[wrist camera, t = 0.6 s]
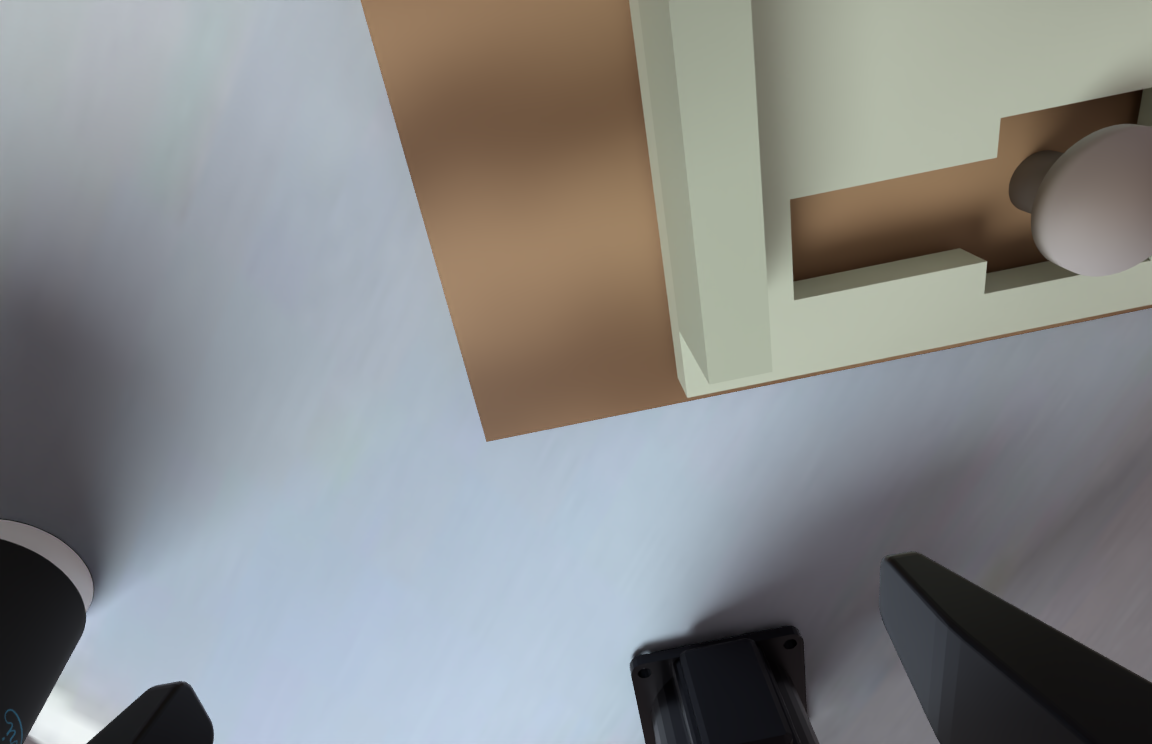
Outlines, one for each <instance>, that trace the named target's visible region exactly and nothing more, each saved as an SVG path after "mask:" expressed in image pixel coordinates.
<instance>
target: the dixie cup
mask: <svg viewBox="0 0 1152 744" xmlns="http://www.w3.org/2000/svg"><path fill="white" fill-rule="evenodd" d="M93 590H94V589H93V582H92V578H91V575H90V572H89V570H88V568H87V567H86V565H85V564H84V562H83V561H82V559H81V558H80V557H79V556H78V555H77V554H76V553H75V552H74V551H73V550H72V549H71V548H70V547H69V546H67V545H66V544H65V543H63V542H62V541H61V540H59V539H57V538H56V537H54V536H52V535H51V534H49V533H47V532H45V531H42V530H40V529H38V528H35V527H33V526H29V525H26V524H23V523H19V522H14V521H9V520H0V744H23V743H24V741H25V739H26V737H27V735H28V734H29V732H30V730H31V728H32V726H33V724H34V723H35V721H36V719H37V717H38V715H39V713H40V711H41V710H42V708H43V706H44V704H45V702H46V700H47V699H48V697H49V695H50V693H51V691H52V689H53V687H54V686H55V684H56V682H57V680H58V678H59V676H60V675H61V673H62V671H63V669H64V667H65V665H66V663H67V662H68V660H69V658H70V656H71V654H72V652H73V650H74V649H75V647H76V645H77V643H78V641H79V639H80V638H81V636H82V634H83V631H84V628H85V623H86V612H87V610H88V608H89V606H90V604H91V602H92V598H93Z"/></svg>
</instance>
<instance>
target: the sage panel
mask: <svg viewBox="0 0 1152 744" xmlns="http://www.w3.org/2000/svg"><path fill="white" fill-rule="evenodd" d="M629 4H630V12H631V20H632V28H633V35H634V43H635V51H636V59H637V66H638V74H639V82H640V90H641V97H642V105H643V113H644V120H645V128H646V136H647V144H648V151H649V159H650V167H651V175H652V182H653V190H654V198H655V206H656V213H657V221H658V229H659V236H660V244H661V252H662V260H663V267H664V275H665V283H666V291H667V298H668V306H669V314H670V322H671V329H672V337H673V345H674V353H675V360H676V368H677V376H678V379H679V381H680V384H681V386H682V388H683V390H684V392H685V394H686V396H687V398H690V397H695V396H700V395H705V394H710V393H715V392H720V391H725V390H730V389H734V388H739V387H744V386H749V385H754V384H759V383H764V382H769V381H774V380H779V379H784V378H789V377H794V376H799V375H804V374H809V373H814V372H819V371H824V370H829V369H834V368H839V367H844V366H849V365H854V364H859V363H864V362H869V361H874V360H878V359H883V358H888V357H893V356H898V355H903V354H908V353H913V352H918V351H923V350H928V349H933V348H938V347H943V346H948V345H953V344H958V343H963V342H968V341H973V340H978V339H983V338H988V337H993V336H998V335H1003V334H1008V333H1013V332H1017V331H1022V330H1027V329H1032V328H1037V327H1042V326H1047V325H1052V324H1057V323H1062V322H1067V321H1072V320H1077V319H1082V318H1087V317H1092V316H1097V315H1102V314H1107V313H1112V312H1117V311H1122V310H1127V309H1132V308H1137V307H1142V306H1147V305H1152V255H1151V256H1150V257H1148V258H1147V259H1146V260H1144V261H1142V262H1141V263H1139V264H1137V265H1136V266H1134V267H1132V268H1129V269H1127V270H1125V271H1122V272H1119V273H1116V274H1112V275H1107V276H1098V277H1091V276H1083V275H1080V274H1077V273H1074V272H1072V271H1069V270H1067V269H1065V268H1062V267H1060V266H1058V265H1056V264H1054V263H1052V262H1050V261H1046V262H1041V263H1036V264H1031V265H1026V266H1021V267H1016V268H1011V269H1006V270H1001V271H996V272H991V273H986V269H987V261H985V260H983V259H981V258H979V257H977V256H975V255H973V254H971V253H969V252H967V251H965V250H963V249H961V248H958V249H953V250H948V251H943V252H938V253H933V254H928V255H923V256H918V257H913V258H908V259H903V260H898V261H894V262H889V263H884V264H879V265H874V266H869V267H864V268H859V269H854V270H849V271H844V272H839V273H834V274H829V275H824V276H819V277H814V278H809V279H804V280H799V281H795V282H793V265H792V240H791V215H790V199H795V198H800V197H805V196H810V195H815V194H820V193H825V192H829V191H834V190H839V189H844V188H849V187H854V186H859V185H864V184H869V183H874V182H879V181H884V180H889V179H894V178H899V177H903V176H908V175H913V174H918V173H923V172H928V171H933V170H938V169H943V168H948V167H953V166H958V165H963V164H968V163H973V162H977V161H982V160H987V159H992V158H997V152H998V141H999V130H1000V120H1001V118H1003V117H1008V116H1013V115H1018V114H1023V113H1028V112H1033V111H1038V110H1043V109H1048V108H1053V107H1058V106H1062V105H1067V104H1072V103H1077V102H1082V101H1087V100H1092V99H1097V98H1102V97H1107V96H1112V95H1117V94H1122V93H1127V92H1131V91H1136V90H1141V89H1143V93H1142V99H1141V104H1140V110H1139V115H1138V121H1137V125H1143V126H1150V127H1152V0H629Z"/></svg>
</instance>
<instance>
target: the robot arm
mask: <svg viewBox="0 0 1152 744" xmlns="http://www.w3.org/2000/svg"><path fill="white" fill-rule="evenodd" d="M879 607H880V613H881V617H882V620H883V622H884V625H885V627H886V629H887V631H888V634H889V636H890V638H891V640H892V642H893V644H894V647H895V649H896V651H897V653H898V655H899V658H900V660H901V662H902V664H903V666H904V668H905V671H906V673H907V675H908V677H909V679H910V681H911V684H912V686H913V688H914V690H915V692H916V695H917V697H918V699H919V701H920V703H921V705H922V708H923V710H924V712H925V714H926V716H927V718H928V721H929V723H930V725H931V727H932V729H933V731H934V733H935V735H936V737H937V739H938V741H939V742H940V744H1152V683H1151V682H1150V681H1148V680H1146V679H1144V678H1142V677H1141V676H1139V675H1137V674H1135V673H1133V672H1132V671H1130V670H1128V669H1126V668H1124V667H1123V666H1121V665H1119V664H1117V663H1116V662H1114V661H1112V660H1110V659H1108V658H1107V657H1105V656H1103V655H1101V654H1099V653H1098V652H1096V651H1094V650H1092V649H1090V648H1089V647H1087V646H1085V645H1083V644H1082V643H1080V642H1078V641H1076V640H1074V639H1073V638H1071V637H1069V636H1067V635H1065V634H1064V633H1062V632H1060V631H1058V630H1056V629H1055V628H1053V627H1051V626H1049V625H1047V624H1046V623H1044V622H1042V621H1040V620H1039V619H1037V618H1035V617H1033V616H1031V615H1030V614H1028V613H1026V612H1024V611H1022V610H1021V609H1019V608H1017V607H1015V606H1013V605H1012V604H1010V603H1008V602H1006V601H1005V600H1003V599H1001V598H999V597H997V596H996V595H994V594H992V593H990V592H988V591H987V590H985V589H983V588H981V587H979V586H978V585H976V584H974V583H972V582H970V581H969V580H967V579H965V578H963V577H962V576H960V575H958V574H956V573H954V572H953V571H951V570H949V569H947V568H945V567H944V566H942V565H940V564H938V563H936V562H935V561H933V560H931V559H929V558H928V557H926V556H924V555H922V554H920V553H917V552H912V551H910V552H904V553H899V554H893V555H888V556H886V557H884V558H883V559H882V562H881V566H880V592H879ZM630 671H631V676H632V681H633V686H634V691H635V695H636V700H637V705H638V710H639V714H640V719H641V724H642V729H643V733H644V738H645V743H646V744H819V741H818V739H817V737H816V734H815V732H814V730H813V728H812V725H811V723H810V721H809V718H808V716H807V710H806V687H805V664H804V642H803V639H802V636H801V634H800V632H799V630H798V629H797V628H796V627H792V626H785V627H780V628H775V629H770V630H765V631H760V632H755V633H750V634H745V635H740V636H735V637H730V638H725V639H720V640H715V641H710V642H705V643H700V644H695V645H690V646H685V647H680V648H675V649H670V650H665V651H660V652H655V653H650V654H645V655H640V656H637V657H635V658H634V659H633V660H632V661H631V663H630ZM213 740H214V730H213V725H212V722H211V720H210V718H209V716H208V714H207V713H206V711H205V709H204V707H203V706H202V704H201V702H200V700H199V699H198V697H197V695H196V693H195V692H194V690H193V688H192V687H191V685H189V684H188V683H186V682H182V681H179V682H173V683H167V684H162V685H157V686H154V687H151V688H150V689H148V690H147V691H146V692H144V693H143V694H142V695H141V696H140V697H139V698H137V699H136V700H135V701H134V702H133V703H132V704H131V705H130V706H128V707H127V708H126V709H125V710H124V711H123V712H122V713H121V714H119V715H118V716H117V717H116V718H115V719H114V720H113V721H112V722H110V723H109V724H108V725H107V726H106V727H105V728H104V729H102V730H101V731H100V732H99V733H98V734H97V735H96V736H95V737H93V738H92V739H91V740H90V741H89V742H88V743H87V744H213Z"/></svg>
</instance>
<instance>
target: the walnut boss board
mask: <svg viewBox="0 0 1152 744" xmlns="http://www.w3.org/2000/svg"><path fill="white" fill-rule="evenodd" d="M361 4H362V7H363V11H364V14H365V18H366V21H367V25H368V28H369V32H370V35H371V39H372V42H373V46H374V49H375V53H376V56H377V60H378V63H379V67H380V70H381V74H382V77H383V81H384V84H385V88H386V91H387V95H388V98H389V102H390V105H391V109H392V112H393V116H394V119H395V123H396V126H397V130H398V133H399V137H400V140H401V144H402V147H403V151H404V154H405V158H406V161H407V165H408V168H409V172H410V175H411V179H412V182H413V186H414V189H415V193H416V196H417V200H418V203H419V207H420V210H421V214H422V217H423V221H424V224H425V228H426V231H427V235H428V238H429V242H430V245H431V249H432V252H433V256H434V259H435V263H436V266H437V270H438V273H439V277H440V280H441V284H442V287H443V291H444V294H445V298H446V301H447V305H448V308H449V312H450V315H451V319H452V322H453V326H454V329H455V333H456V336H457V340H458V343H459V347H460V350H461V354H462V357H463V361H464V364H465V368H466V371H467V375H468V378H469V382H470V385H471V389H472V392H473V396H474V399H475V403H476V406H477V410H478V413H479V417H480V420H481V424H482V427H483V431H484V434H485V438H486V441H487V442H488V441H493V440H498V439H503V438H508V437H513V436H518V435H522V434H527V433H532V432H537V431H542V430H547V429H552V428H557V427H562V426H567V425H572V424H577V423H582V422H587V421H592V420H597V419H602V418H607V417H612V416H617V415H622V414H627V413H632V412H637V411H642V410H647V409H652V408H657V407H662V406H667V405H671V404H676V403H681V402H686V401H691V400H696V399H701V398H706V397H711V396H716V395H721V394H726V393H731V392H736V391H741V390H746V389H751V388H756V387H761V386H766V385H771V384H776V383H781V382H786V381H791V380H796V379H801V378H806V377H811V376H815V375H820V374H825V373H830V372H835V371H840V370H845V369H850V368H855V367H860V366H865V365H870V364H875V363H880V362H885V361H890V360H895V359H900V358H905V357H910V356H915V355H920V354H925V353H930V352H935V351H940V350H945V349H950V348H955V347H959V346H964V345H969V344H974V343H979V342H984V341H989V340H994V339H999V338H1004V337H1009V336H1014V335H1019V334H1024V333H1029V332H1034V331H1039V330H1044V329H1049V328H1054V327H1059V326H1064V325H1069V324H1074V323H1079V322H1084V321H1089V320H1094V319H1099V318H1103V317H1108V316H1113V315H1118V314H1123V313H1128V312H1133V311H1138V310H1143V309H1148V308H1152V305H1147V306H1142V307H1137V308H1132V309H1127V310H1122V311H1117V312H1112V313H1107V314H1102V315H1097V316H1092V317H1087V318H1082V319H1077V320H1072V321H1067V322H1062V323H1057V324H1052V325H1047V326H1042V327H1037V328H1032V329H1027V330H1022V331H1017V332H1013V333H1008V334H1003V335H998V336H993V337H988V338H983V339H978V340H973V341H968V342H963V343H958V344H953V345H948V346H943V347H938V348H933V349H928V350H923V351H918V352H913V353H908V354H903V355H898V356H893V357H888V358H883V359H878V360H874V361H869V362H864V363H859V364H854V365H849V366H844V367H839V368H834V369H829V370H824V371H819V372H814V373H809V374H804V375H799V376H794V377H789V378H784V379H779V380H774V381H769V382H764V383H759V384H754V385H749V386H744V387H739V388H734V389H730V390H725V391H720V392H715V393H710V394H705V395H700V396H695V397H690V398H687V396H686V394H685V392H684V390H683V388H682V386H681V384H680V381H679V379H678V376H677V368H676V360H675V353H674V345H673V337H672V329H671V322H670V314H669V306H668V298H667V291H666V283H665V275H664V267H663V260H662V252H661V244H660V236H659V229H658V221H657V213H656V206H655V198H654V190H653V182H652V175H651V167H650V159H649V151H648V144H647V136H646V128H645V120H644V113H643V105H642V97H641V90H640V82H639V74H638V66H637V59H636V51H635V43H634V35H633V28H632V20H631V12H630V4H629V0H361ZM1142 93H1143V89H1141V90H1136V91H1131V92H1127V93H1122V94H1117V95H1112V96H1107V97H1102V98H1097V99H1092V100H1087V101H1082V102H1077V103H1072V104H1067V105H1062V106H1058V107H1053V108H1048V109H1043V110H1038V111H1033V112H1028V113H1023V114H1018V115H1013V116H1008V117H1003V118H1001V120H1000V130H999V141H998V152H997V158H992V159H987V160H982V161H977V162H973V163H968V164H963V165H958V166H953V167H948V168H943V169H938V170H933V171H928V172H923V173H918V174H913V175H908V176H903V177H899V178H894V179H889V180H884V181H879V182H874V183H869V184H864V185H859V186H854V187H849V188H844V189H839V190H834V191H829V192H825V193H820V194H815V195H810V196H805V197H800V198H795V199H790V215H791V240H792V265H793V282H795V281H799V280H804V279H809V278H814V277H819V276H824V275H829V274H834V273H839V272H844V271H849V270H854V269H859V268H864V267H869V266H874V265H879V264H884V263H889V262H894V261H898V260H903V259H908V258H913V257H918V256H923V255H928V254H933V253H938V252H943V251H948V250H953V249H958V248H961V249H963V250H965V251H967V252H969V253H971V254H973V255H975V256H977V257H979V258H981V259H983V260H985V261H987V269H986V273H991V272H996V271H1001V270H1006V269H1011V268H1016V267H1021V266H1026V265H1031V264H1036V263H1041V262H1046V261H1050V262H1052V263H1054V264H1056V265H1058V266H1060V267H1062V268H1065V269H1067V270H1069V271H1072V272H1074V273H1077V274H1080V275H1083V276H1091V277H1098V276H1107V275H1112V274H1116V273H1119V272H1122V271H1125V270H1127V269H1129V268H1132V267H1134V266H1136V265H1137V264H1139V263H1141V262H1142V261H1144V260H1146V259H1147V258H1148V257H1150V256H1151V255H1152V127H1150V126H1143V125H1137V121H1138V115H1139V110H1140V104H1141V99H1142Z"/></svg>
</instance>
